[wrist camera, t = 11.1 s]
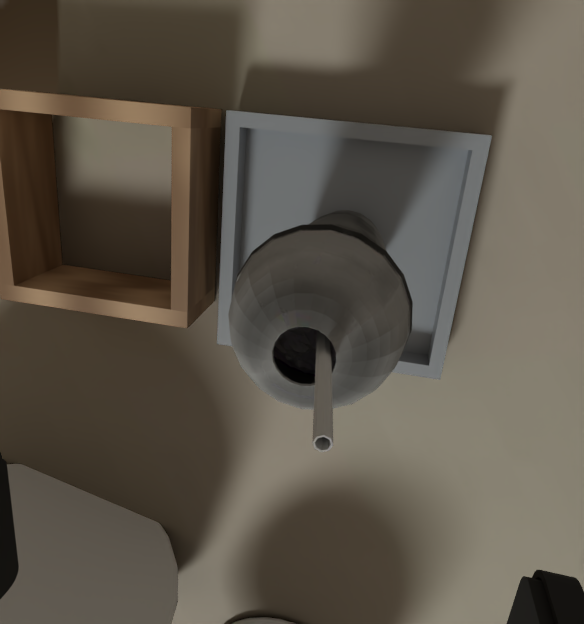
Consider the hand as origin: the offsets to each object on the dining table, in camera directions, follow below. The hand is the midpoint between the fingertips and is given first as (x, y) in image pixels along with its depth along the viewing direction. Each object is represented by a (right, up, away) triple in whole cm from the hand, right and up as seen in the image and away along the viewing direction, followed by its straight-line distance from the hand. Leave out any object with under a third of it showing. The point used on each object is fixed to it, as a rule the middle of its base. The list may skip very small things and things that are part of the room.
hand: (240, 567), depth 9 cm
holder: (-10, +12, +25) cm, 29 cm away
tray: (+4, +9, +23) cm, 25 cm away
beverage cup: (+4, +8, +22) cm, 24 cm away
